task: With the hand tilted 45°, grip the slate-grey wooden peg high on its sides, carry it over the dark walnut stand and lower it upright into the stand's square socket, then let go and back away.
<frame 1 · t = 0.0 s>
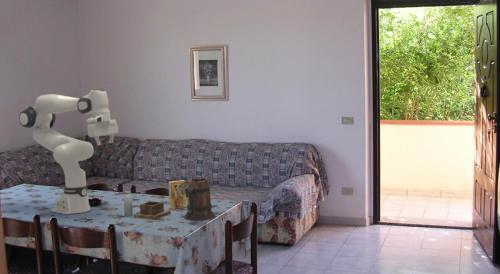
hand: (105, 144, 299), 39 cm above the table, tool pointing down, fingers open, 8 cm apart
tankard: (197, 218, 289), on the table
slot stand: (152, 215, 298), on the table
grey peg: (128, 215, 299), on the table
candy box: (178, 208, 315), on the table
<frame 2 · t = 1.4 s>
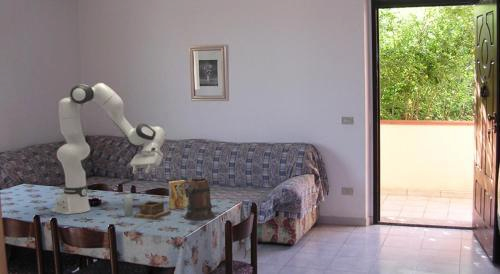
hand: (139, 173, 306), 22 cm above the table, tool tilted 40°, fingers open, 8 cm apart
nothing on the table moved.
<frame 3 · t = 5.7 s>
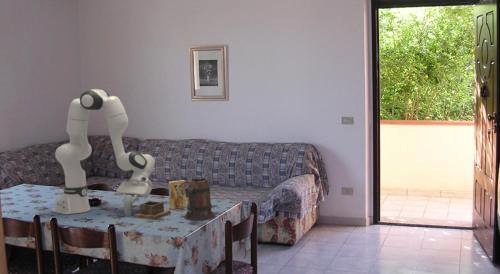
hand: (127, 202, 298), 7 cm above the table, tool tilted 45°, fingers closed on grey peg, 4 cm apart
grey peg: (128, 215, 299), on the table, touching gripper
everything else where it was.
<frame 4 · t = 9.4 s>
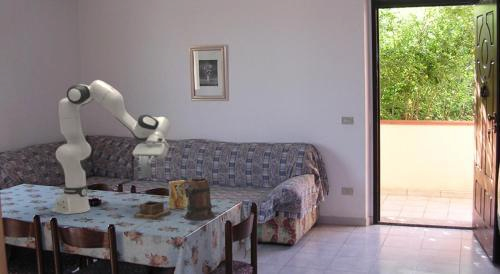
hand: (144, 163, 295), 28 cm above the table, tool tilted 45°, fingers closed on grey peg, 4 cm apart
grey peg: (145, 176, 296), point 21 cm above the table, touching gripper
everything else where it was.
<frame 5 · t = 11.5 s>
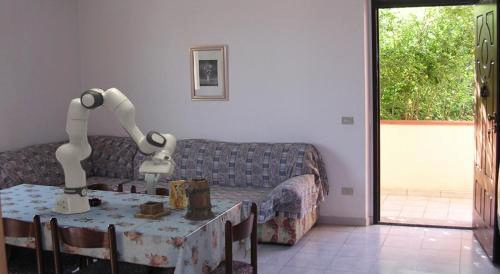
hand: (150, 181, 296), 19 cm above the table, tool tilted 45°, fingers closed on grey peg, 4 cm apart
grey peg: (151, 194, 297), point 11 cm above the table, touching gripper
everything else where it was.
when the fingers open (10 cm above the table, at t = 13.4 s): grey peg drops 1 cm, resting on slot stand.
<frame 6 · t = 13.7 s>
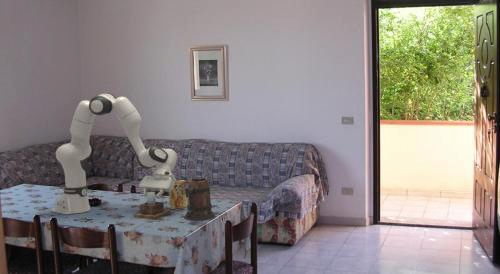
hand: (151, 196, 297), 10 cm above the table, tool tilted 45°, fingers open, 7 cm apart
grey peg: (152, 212, 298), point 2 cm above the table, touching slot stand
everything else where it was.
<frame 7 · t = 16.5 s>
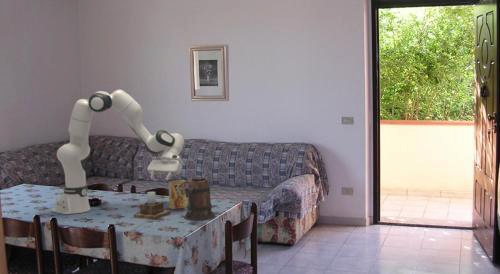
hand: (159, 179, 303), 18 cm above the table, tool tilted 45°, fingers open, 8 cm apart
nothing on the table moved.
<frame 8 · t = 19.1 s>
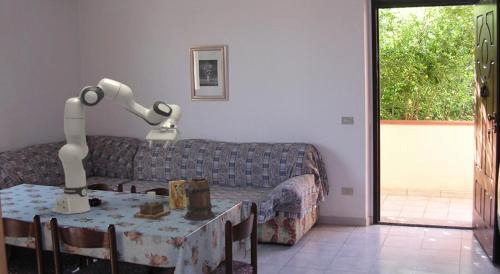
hand: (157, 147, 313), 34 cm above the table, tool tilted 45°, fingers open, 8 cm apart
nothing on the table moved.
at the end: grey peg 0.1 cm off-centre on the slot stand, point 1.5 cm above the slot stand's base; grey peg tilted 0°; the gripper is holding nothing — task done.
